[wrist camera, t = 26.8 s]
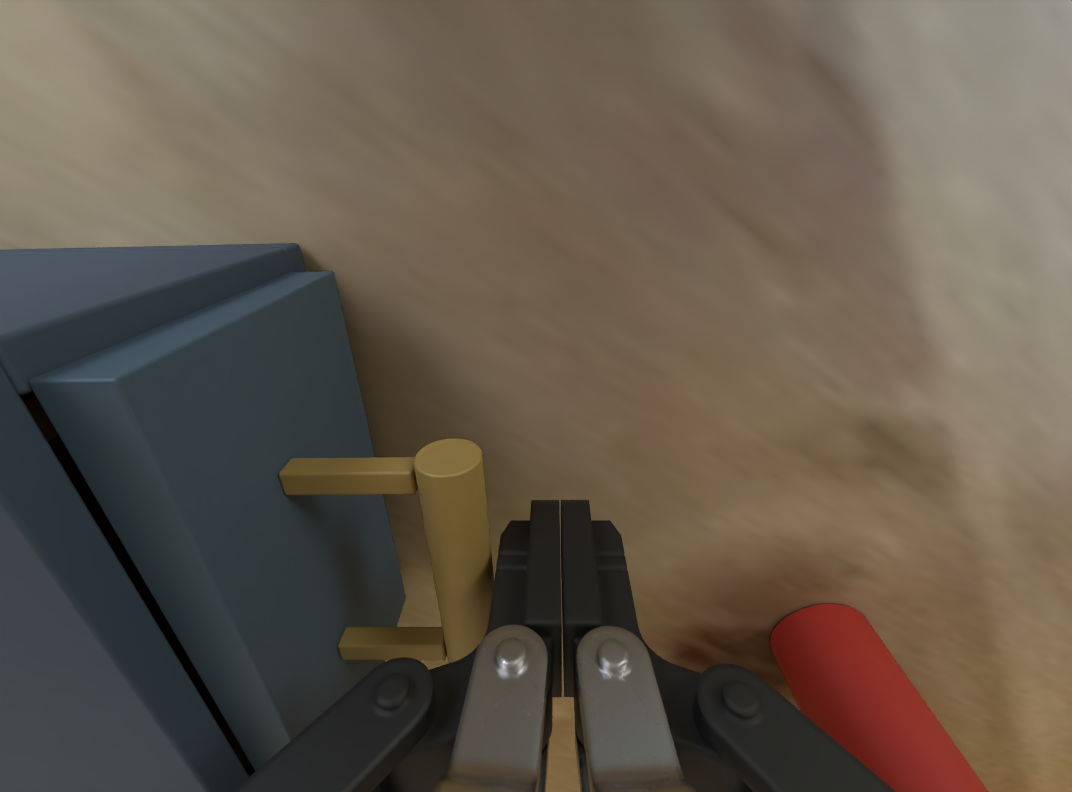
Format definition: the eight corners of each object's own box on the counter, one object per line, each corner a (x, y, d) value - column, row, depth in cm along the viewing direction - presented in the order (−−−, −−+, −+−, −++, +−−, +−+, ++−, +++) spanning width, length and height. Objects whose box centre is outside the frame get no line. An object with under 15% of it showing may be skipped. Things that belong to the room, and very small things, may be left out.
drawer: (494, 267, 12) (438, 375, 6) (515, 597, 17) (498, 828, 11) (-192, 281, 12) (-908, 393, 6) (42, 597, 18) (-216, 817, 12)
